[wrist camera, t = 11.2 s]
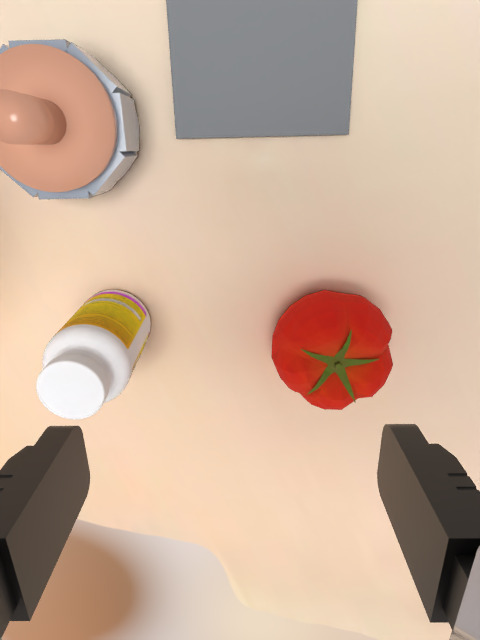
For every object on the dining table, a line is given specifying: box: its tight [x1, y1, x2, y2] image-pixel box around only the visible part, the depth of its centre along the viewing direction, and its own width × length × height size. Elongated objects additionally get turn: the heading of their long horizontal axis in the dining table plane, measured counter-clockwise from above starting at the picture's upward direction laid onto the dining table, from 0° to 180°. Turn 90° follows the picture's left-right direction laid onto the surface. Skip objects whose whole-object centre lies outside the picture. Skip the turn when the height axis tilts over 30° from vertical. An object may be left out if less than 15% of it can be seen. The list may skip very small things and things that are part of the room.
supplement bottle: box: [36, 290, 151, 419], centre depth 35 cm, size 7×7×13 cm
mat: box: [166, 0, 357, 139], centre depth 32 cm, size 14×14×1 cm
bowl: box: [0, 40, 140, 199], centre depth 32 cm, size 10×10×6 cm
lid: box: [0, 44, 118, 192], centre depth 27 cm, size 9×9×6 cm
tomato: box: [272, 290, 393, 410], centre depth 39 cm, size 11×11×8 cm
